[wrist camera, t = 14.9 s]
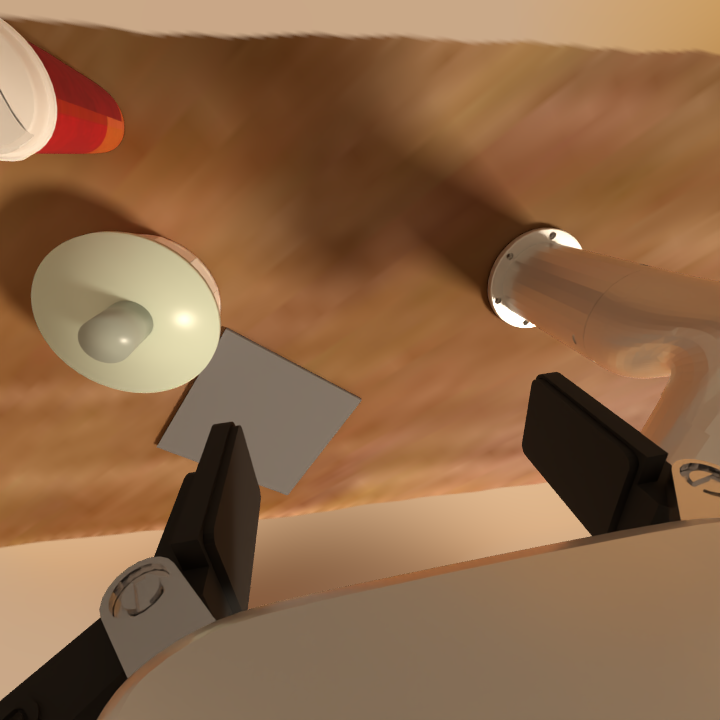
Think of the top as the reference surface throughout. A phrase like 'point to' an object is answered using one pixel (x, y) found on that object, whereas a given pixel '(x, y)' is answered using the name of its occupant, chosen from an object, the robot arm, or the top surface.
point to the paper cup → (50, 105)
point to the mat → (261, 410)
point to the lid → (126, 311)
